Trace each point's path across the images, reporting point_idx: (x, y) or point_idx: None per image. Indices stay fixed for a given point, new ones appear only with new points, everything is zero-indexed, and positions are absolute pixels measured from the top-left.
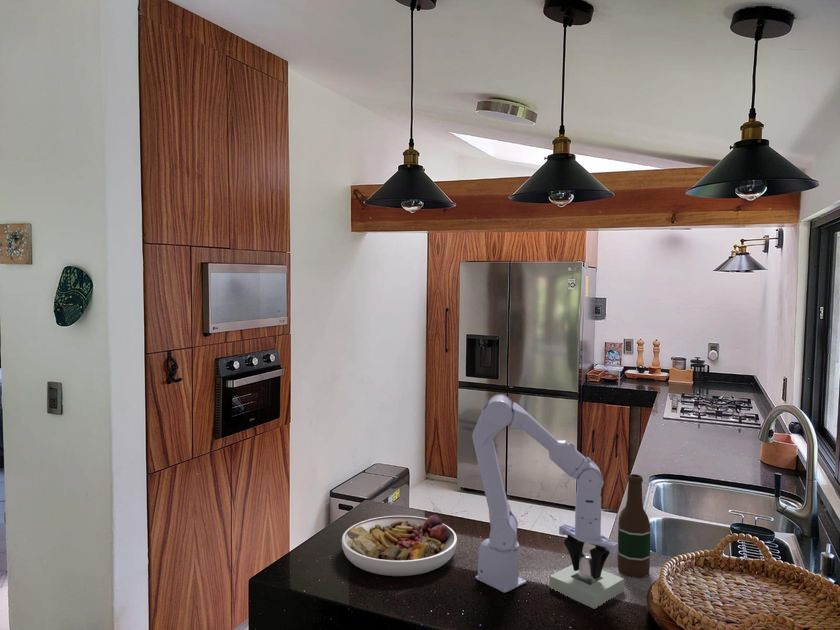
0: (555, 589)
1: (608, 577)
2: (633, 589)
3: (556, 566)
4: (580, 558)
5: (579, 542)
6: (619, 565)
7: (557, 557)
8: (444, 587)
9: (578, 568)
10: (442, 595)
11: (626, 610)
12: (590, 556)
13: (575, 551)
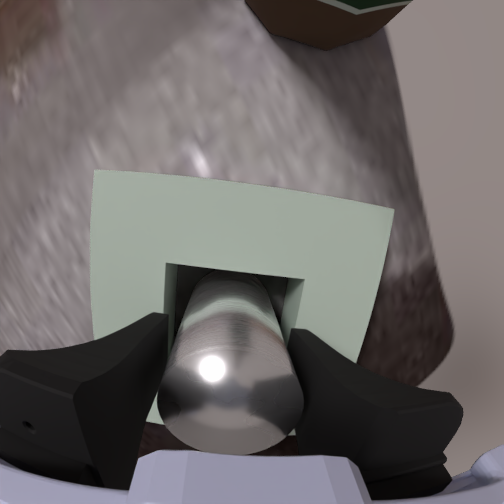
0: None
1: (325, 255)
2: (387, 155)
3: (29, 191)
4: (198, 443)
5: (107, 450)
6: (275, 20)
7: (5, 117)
8: None
9: (166, 342)
10: None
11: (407, 335)
12: (243, 398)
13: (134, 442)
